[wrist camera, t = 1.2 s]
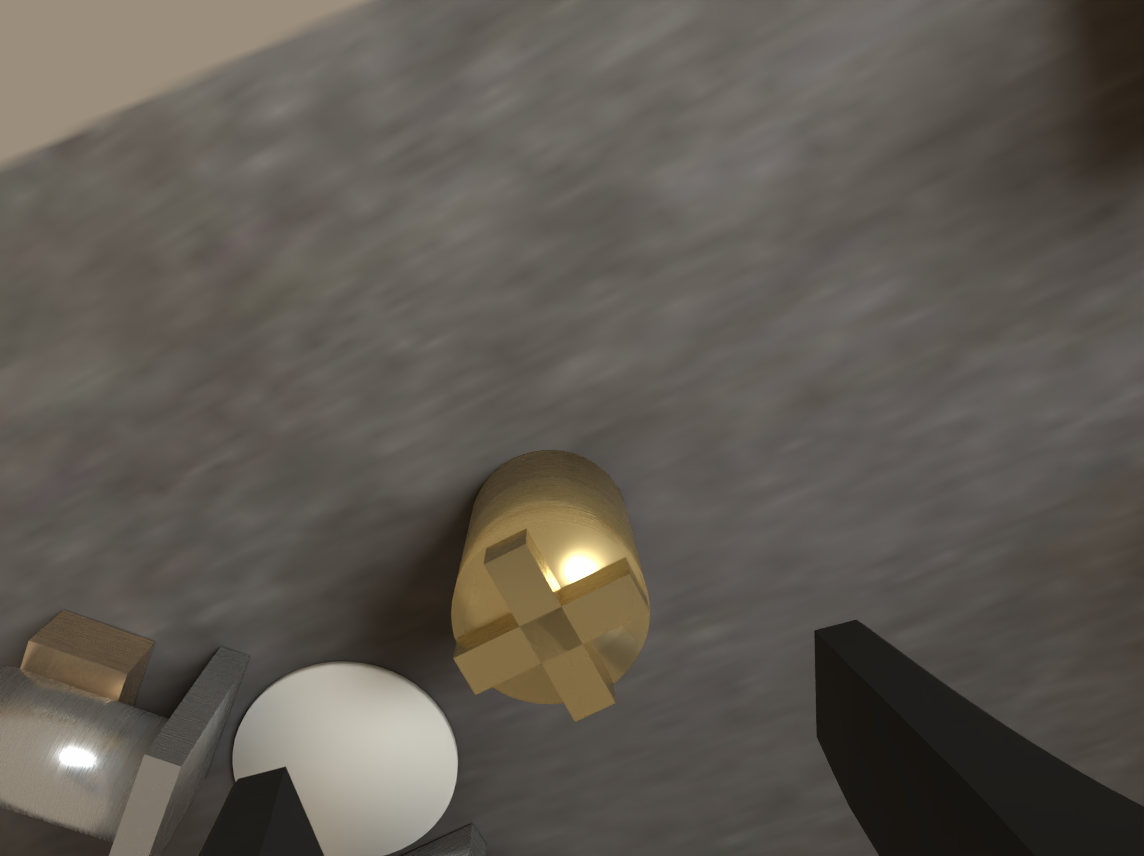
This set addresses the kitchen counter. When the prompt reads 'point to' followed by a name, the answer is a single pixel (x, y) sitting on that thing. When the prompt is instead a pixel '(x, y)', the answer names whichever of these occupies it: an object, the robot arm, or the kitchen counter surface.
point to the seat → (354, 754)
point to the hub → (549, 585)
